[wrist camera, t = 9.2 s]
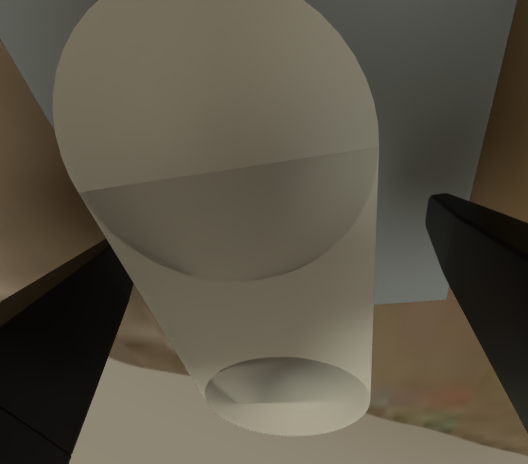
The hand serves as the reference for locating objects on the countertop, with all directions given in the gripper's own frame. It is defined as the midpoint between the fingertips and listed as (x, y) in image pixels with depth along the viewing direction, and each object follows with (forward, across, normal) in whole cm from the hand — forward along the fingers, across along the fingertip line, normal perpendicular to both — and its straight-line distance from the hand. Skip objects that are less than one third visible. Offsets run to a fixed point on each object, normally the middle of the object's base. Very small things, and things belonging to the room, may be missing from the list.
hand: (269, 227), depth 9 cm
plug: (+3, 0, +1) cm, 3 cm away
